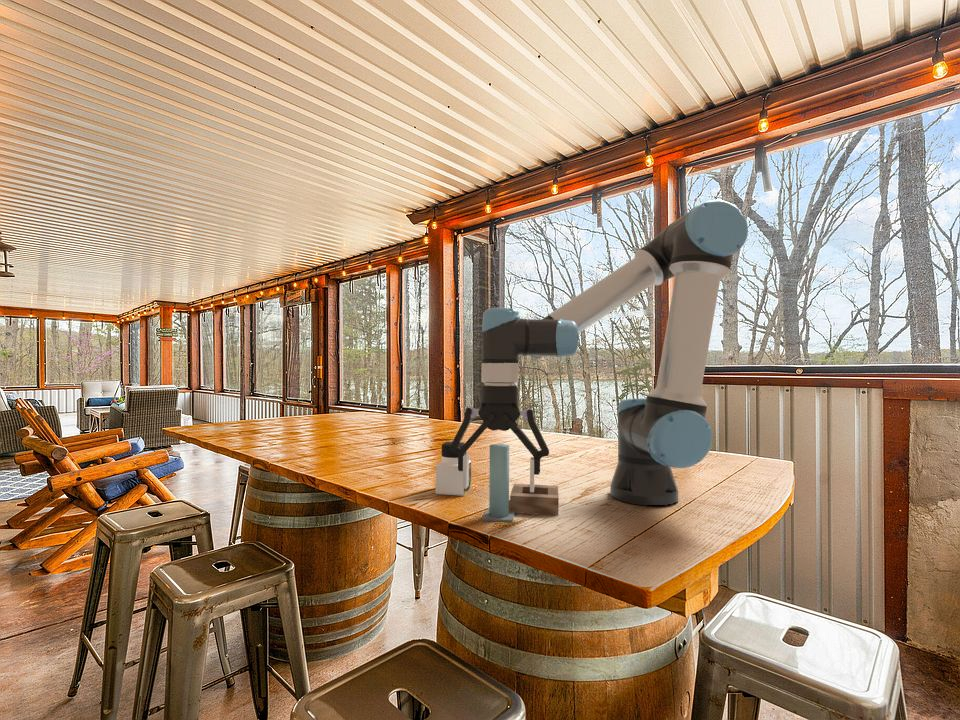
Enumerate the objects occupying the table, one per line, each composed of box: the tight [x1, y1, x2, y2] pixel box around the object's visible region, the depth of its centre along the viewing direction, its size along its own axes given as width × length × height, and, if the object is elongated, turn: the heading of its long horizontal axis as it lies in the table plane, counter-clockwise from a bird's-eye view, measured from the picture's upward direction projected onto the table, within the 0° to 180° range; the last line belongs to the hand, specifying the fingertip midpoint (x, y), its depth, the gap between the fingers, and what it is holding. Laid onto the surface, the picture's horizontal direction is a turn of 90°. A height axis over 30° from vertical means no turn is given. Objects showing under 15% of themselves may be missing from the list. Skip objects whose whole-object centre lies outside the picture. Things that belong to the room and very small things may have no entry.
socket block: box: [509, 483, 560, 516], centre depth 102 cm, size 10×10×4 cm
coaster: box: [481, 508, 516, 523], centre depth 95 cm, size 6×6×1 cm
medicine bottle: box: [435, 440, 472, 497], centre depth 114 cm, size 7×7×12 cm
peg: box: [488, 443, 510, 518], centre depth 95 cm, size 4×4×14 cm
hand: (498, 489), depth 95 cm, fingers open, 13 cm apart
